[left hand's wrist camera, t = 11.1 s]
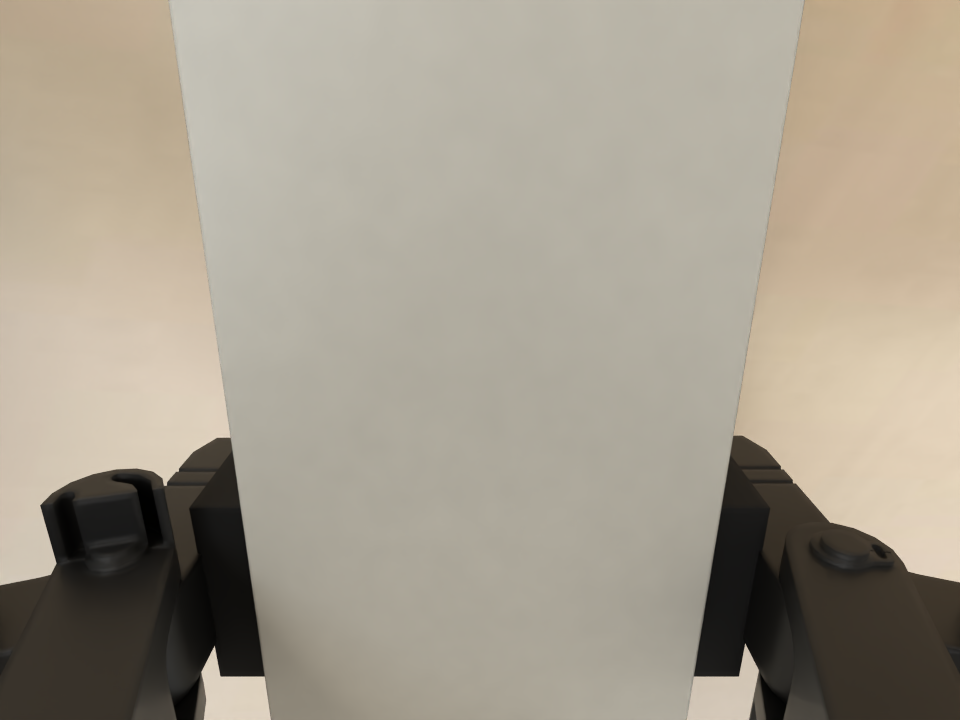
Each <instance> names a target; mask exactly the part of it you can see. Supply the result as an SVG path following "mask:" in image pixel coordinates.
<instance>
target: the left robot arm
mask: <svg viewBox="0 0 960 720" xmlns="http://www.w3.org/2000/svg"><path fill="white" fill-rule="evenodd" d="M40 506H41V510H42V513H43V517H44V520H45V524H46V527H47V531H48V534H49V538H50V541H51V545H52V549H53V552H54V556H55V559H56V563H57V564H56V566H55V568H54V570H53V572H52V574H51V575H48V576H45V577H41V578H36V579H30V580H25V581H20V582H15V583H10V584H5V585H0V720H204V712H205V705H206V696H205V689H204V683H203V678H202V673H201V671H202V669H203V667H204V665H205V664H206V662H207V660H208V658H209V656H210V654H211V652H212V650H213V648H214V646H215V649H216V654H217V660H218V665H219V670H220V676H265V674H264V667H263V660H262V653H261V646H260V639H259V632H258V625H257V618H256V611H255V604H254V597H253V590H252V583H251V576H250V569H249V562H248V555H247V548H246V541H245V534H244V527H243V520H242V513H241V506H240V499H239V492H238V485H237V478H236V471H235V464H234V457H233V450H232V443H231V438H216V439H215V440H213V441H211V442H210V443H208V444H206V445H205V446H203V447H201V448H199V449H198V450H196V451H194V452H193V453H192V454H191V455H190V457H189V458H188V459H187V460H186V461H185V462H184V464H183V465H182V466H181V467H180V468H179V472H176V473H175V474H174V475H173V476H172V477H171V479H170V480H169V481H168V482H167V486H164V485H163V480H162V478H161V477H160V476H158V475H157V474H155V473H154V472H152V471H146V470H141V469H118V470H112V471H107V472H102V473H97V474H93V475H90V476H87V477H85V478H82V479H79V480H77V481H74V482H71V483H69V484H68V485H66V486H64V487H62V488H61V489H59V490H57V491H56V492H54V493H52V494H51V495H50V496H49V497H48V498H47V499H46V500H45V501H44V502H43V503H42V504H41V505H40ZM745 644H746V645H747V647H748V649H749V651H750V653H751V655H752V657H753V659H754V661H755V663H756V665H757V667H758V669H759V673H758V678H757V683H756V688H755V693H754V698H753V703H752V708H751V713H750V718H749V720H960V583H959V582H954V581H949V580H944V579H939V578H934V577H929V576H924V575H919V574H915V573H911V572H908V571H907V569H906V567H905V565H904V563H903V562H902V560H901V559H900V558H899V557H898V556H897V554H896V553H895V552H894V551H893V549H891V548H890V547H888V546H887V545H885V544H884V543H882V542H881V541H879V540H878V539H876V538H875V537H873V536H870V535H868V534H866V533H863V532H861V531H859V530H857V529H854V528H850V527H846V526H842V525H838V524H834V523H830V522H829V521H828V520H827V519H826V518H825V517H824V515H823V514H822V513H821V512H820V511H819V510H818V509H817V507H816V506H815V505H814V504H813V503H812V502H811V500H810V499H809V498H808V497H807V496H806V495H805V494H804V492H803V491H802V490H801V489H800V488H799V487H798V486H797V484H793V480H792V479H791V478H790V476H789V475H788V474H787V473H786V472H785V471H784V470H781V466H780V465H779V464H778V463H777V461H776V460H775V459H774V458H773V457H772V456H771V455H770V453H769V452H768V451H767V450H766V449H764V448H762V447H761V446H759V445H757V444H756V443H754V442H752V441H750V440H749V439H747V438H745V437H744V436H733V440H732V446H731V452H730V458H729V464H728V471H727V477H726V483H725V489H724V495H723V501H722V507H721V513H720V519H719V525H718V531H717V538H716V544H715V550H714V556H713V562H712V568H711V574H710V580H709V586H708V592H707V598H706V605H705V611H704V617H703V623H702V629H701V635H700V641H699V647H698V653H697V659H696V665H695V671H694V676H739V673H740V668H741V662H742V657H743V652H744V646H745Z"/></svg>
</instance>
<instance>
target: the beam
mask: <svg viewBox="0 0 960 720" xmlns="http://www.w3.org/2000/svg"><path fill="white" fill-rule="evenodd" d="M168 1H169V8H170V15H171V22H172V29H173V36H174V43H175V50H176V57H177V64H178V71H179V78H180V85H181V92H182V99H183V106H184V113H185V120H186V127H187V134H188V141H189V148H190V155H191V162H192V169H193V176H194V183H195V190H196V197H197V204H198V211H199V218H200V225H201V232H202V239H203V246H204V253H205V260H206V267H207V274H208V281H209V288H210V295H211V302H212V309H213V316H214V323H215V330H216V337H217V344H218V351H219V358H220V365H221V372H222V379H223V386H224V393H225V400H226V407H227V414H228V422H229V429H230V436H231V443H232V450H233V457H234V464H235V471H236V478H237V485H238V492H239V499H240V506H241V513H242V520H243V527H244V534H245V541H246V548H247V555H248V562H249V569H250V576H251V583H252V590H253V597H254V604H255V611H256V618H257V625H258V632H259V639H260V646H261V653H262V660H263V667H264V674H265V681H266V688H267V695H268V702H269V709H270V716H271V720H687V714H688V708H689V702H690V696H691V690H692V684H693V678H694V671H695V665H696V659H697V653H698V647H699V641H700V635H701V629H702V623H703V617H704V611H705V605H706V598H707V592H708V586H709V580H710V574H711V568H712V562H713V556H714V550H715V544H716V538H717V531H718V525H719V519H720V513H721V507H722V501H723V495H724V489H725V483H726V477H727V471H728V464H729V458H730V452H731V446H732V440H733V434H734V428H735V422H736V416H737V410H738V404H739V398H740V391H741V385H742V379H743V373H744V367H745V361H746V355H747V349H748V343H749V337H750V331H751V324H752V318H753V312H754V306H755V300H756V294H757V288H758V282H759V276H760V270H761V264H762V257H763V251H764V245H765V239H766V233H767V227H768V221H769V215H770V209H771V203H772V197H773V191H774V184H775V178H776V172H777V166H778V160H779V154H780V148H781V142H782V136H783V130H784V124H785V117H786V111H787V105H788V99H789V93H790V87H791V81H792V75H793V69H794V63H795V57H796V50H797V44H798V38H799V32H800V26H801V20H802V14H803V8H804V2H805V0H168Z"/></svg>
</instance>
